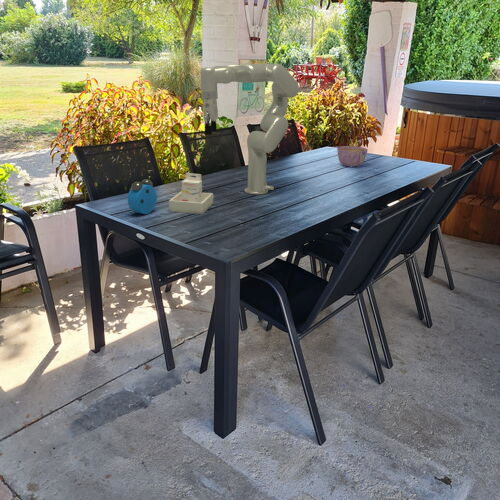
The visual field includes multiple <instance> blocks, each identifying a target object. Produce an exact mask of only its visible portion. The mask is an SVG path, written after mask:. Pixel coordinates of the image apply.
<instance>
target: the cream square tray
mask: <svg viewBox="0 0 500 500" xmlns="http://www.w3.org/2000/svg"><path fill="white" fill-rule="evenodd" d="M213 204H214V193H213V192H202V202H201V203H198V202H186V201H182V190H181V191H179V192H178V193H177V194H176V195H174V196H173V197H172V198H170V199H169V200H168V211H169V212H174V213H175V212H176V213H183V214H184V213H185V214H186V213H187V214H196V215H198V214H200V215H203V214H204V213H205V212H206V211H207V210H208V209H209V208H210V207H212V206H213Z"/></svg>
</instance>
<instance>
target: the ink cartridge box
mask: <svg viewBox="0 0 500 500" xmlns="http://www.w3.org/2000/svg"><path fill="white" fill-rule="evenodd" d="M181 191H182V201H186V202H198V203H201V202H202V193H203V180H202V174H200V173H194V172H192V173H191V172H185V179H183V180H181Z"/></svg>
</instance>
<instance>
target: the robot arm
mask: <svg viewBox="0 0 500 500" xmlns="http://www.w3.org/2000/svg"><path fill="white" fill-rule="evenodd" d="M232 82H234V83H235V82H237V83H243V84H244V83H245V84H246V83H247V84H250V83H251V84H252V83H265V82H267V83H268V82H269V83H270V82H272V83H271V84H272V85H271V92H272V93H271V94H272V102H271V105H270V106H269V108H268V109H267V110H266V113H265V114H264V115H263V117H262V119H261V120H260V129H261V130H262V131H261V130H253V131H251V132H250V133H249V134H248V135H247V138H246V146H247V151H248V154H247V155H248V161H247V163H248V164H247V165H248V166H247V187H245V188H244V193H247V194H248V195H249V194H251V195H265V194H268V193H269V191H271V190H272V191H274V188H275V186H273V185H269V184H268V182H267V158H268V157H267V154H268V153H269V154H270V153H272V152H274V150H276V148H277V147H278V146H279V144H280V142H281V141H282V140H283V138H284V136H285V135H286V133H287V131H288V129H289V122H288V119H287V117H285V115H286V113H287V111H288V108H289V103H288V98H291V99H292V98H296V97H297V96H298V94H299V93H300V92H299V91H300V85H299V82H298V81H297V80H296V78H294V76H293V75H292V74H291V73H290V71H288V69H287V68H286V67H284V66H283V65H282V64H280V63H270V62H269V63H268V62H267V63H246V64H245V63H244V64H234V65H232V64H231V65H229V64H228V65H215V66H210V67H202V68H201V69H200V91H201V92H200V94H201V100H202V106H203V109H202V111H203V120H204V123H203V124H204V135H207V136H212V132H217V131H218V130H217V120H218V119H219V111H218V100H217V99H218V84H223V85H224V84H225V85H226V84H227V85H228V84H231V83H232Z"/></svg>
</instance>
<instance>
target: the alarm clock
mask: <svg viewBox="0 0 500 500" xmlns="http://www.w3.org/2000/svg"><path fill="white" fill-rule="evenodd" d="M153 184H154V183H153V182H152V181H151V180H150V179H149V178H148V179H147V178H146V179H143V180H141V181H135V182H133V183H132V184H131V188H130V190H129V192H128V195H127V203H128V207H129V209H130V210H131V212H134V215H136V214H137V213H138V214H142V215H148V214H150V213H151V212H152V211H154V209H155V207H156V204H157V200H158V198H157V197H158V196H157V191H156V189H155V188H154V186H153Z"/></svg>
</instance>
